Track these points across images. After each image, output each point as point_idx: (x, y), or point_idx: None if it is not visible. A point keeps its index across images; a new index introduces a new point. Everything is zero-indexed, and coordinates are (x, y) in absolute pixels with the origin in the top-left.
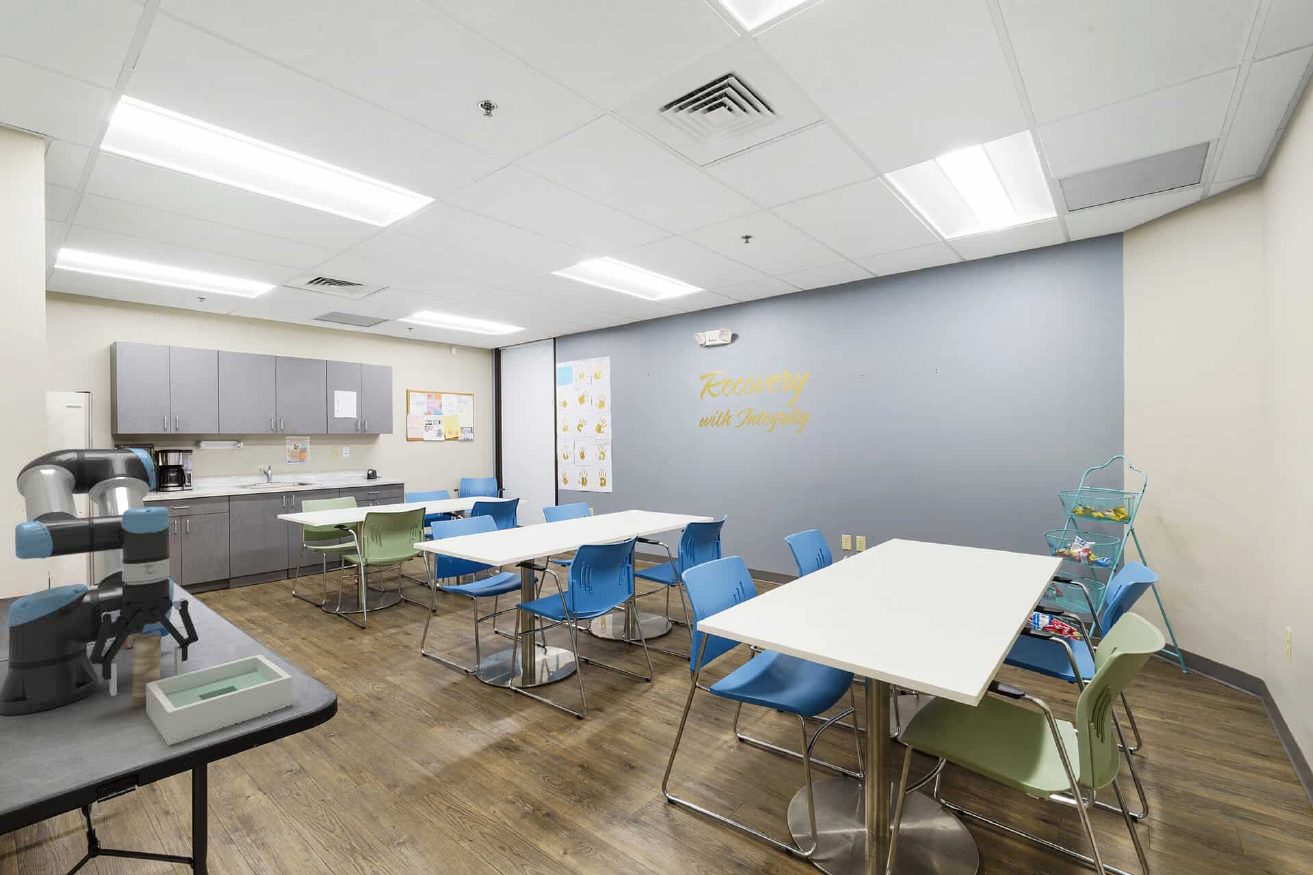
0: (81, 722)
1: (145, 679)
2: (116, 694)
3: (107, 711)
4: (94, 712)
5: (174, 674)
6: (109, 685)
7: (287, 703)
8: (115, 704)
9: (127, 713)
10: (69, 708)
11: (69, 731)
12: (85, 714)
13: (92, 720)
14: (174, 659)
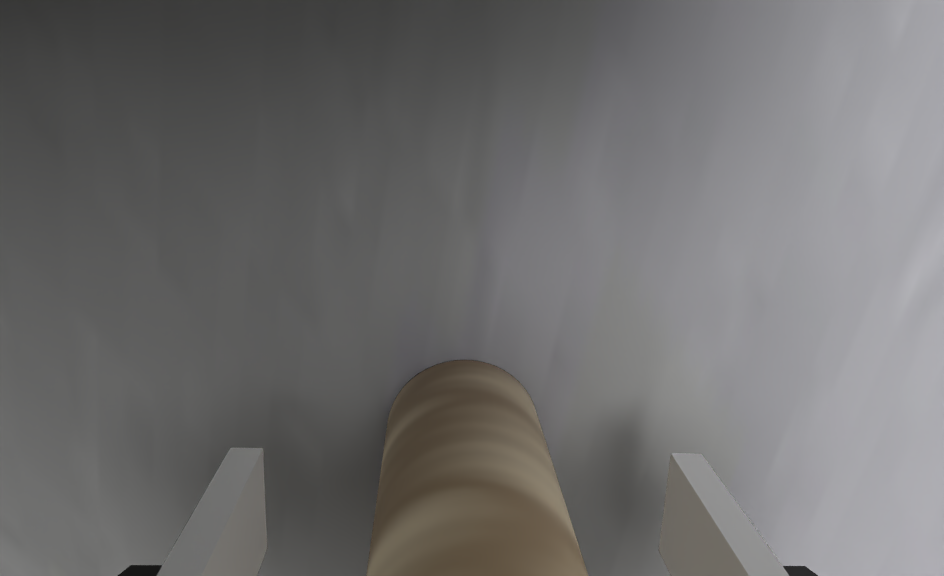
0: (118, 464)
1: None
2: (265, 550)
3: (255, 393)
4: (188, 342)
5: (675, 461)
6: (211, 484)
7: None
8: (308, 294)
9: (343, 530)
10: (46, 91)
11: (62, 558)
12: (140, 332)
13: (172, 483)
14: (730, 549)
